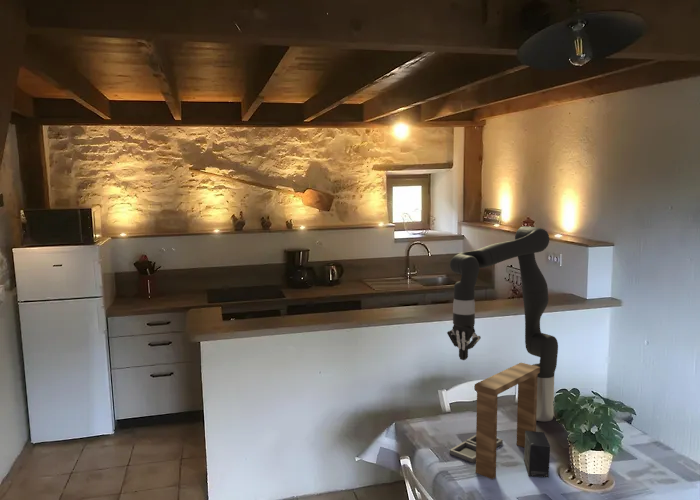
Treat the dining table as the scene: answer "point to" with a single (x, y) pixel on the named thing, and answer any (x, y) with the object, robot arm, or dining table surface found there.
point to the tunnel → (488, 412)
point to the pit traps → (468, 449)
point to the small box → (537, 454)
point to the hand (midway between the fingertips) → (463, 359)
